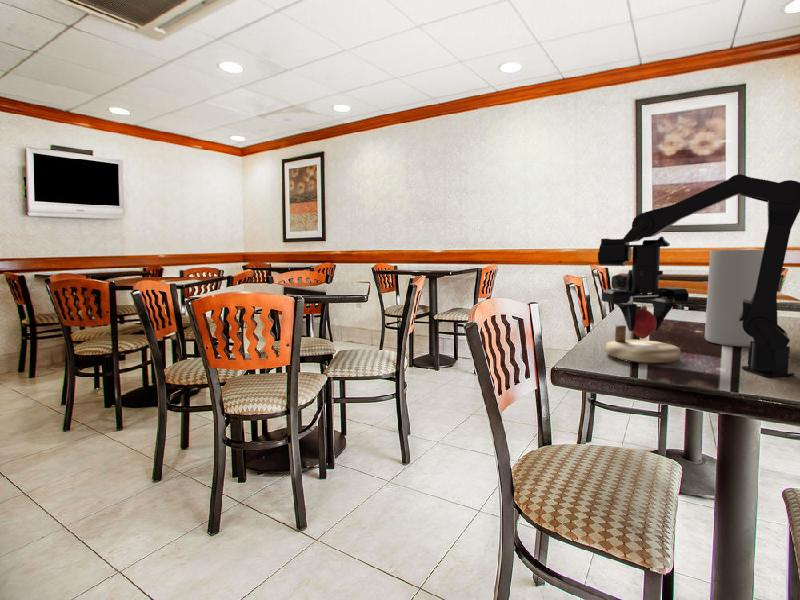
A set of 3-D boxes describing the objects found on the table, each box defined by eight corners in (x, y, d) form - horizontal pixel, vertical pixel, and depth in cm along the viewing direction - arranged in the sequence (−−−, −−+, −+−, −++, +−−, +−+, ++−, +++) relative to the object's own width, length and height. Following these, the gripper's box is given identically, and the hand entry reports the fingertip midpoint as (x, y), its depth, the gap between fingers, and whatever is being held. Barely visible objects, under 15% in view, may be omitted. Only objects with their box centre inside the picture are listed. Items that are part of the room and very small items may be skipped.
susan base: (681, 362, 106) (681, 360, 106) (632, 365, 105) (632, 362, 105) (649, 350, 118) (649, 348, 118) (604, 352, 117) (604, 350, 117)
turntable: (695, 357, 107) (697, 333, 106) (644, 365, 101) (645, 340, 101) (638, 343, 122) (639, 322, 121) (591, 350, 116) (592, 327, 115)
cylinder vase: (703, 335, 134) (708, 250, 130) (757, 339, 127) (764, 249, 124) (705, 344, 123) (711, 251, 120) (764, 349, 117) (772, 251, 113)
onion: (654, 342, 107) (655, 308, 106) (627, 339, 110) (628, 307, 109) (657, 337, 112) (659, 305, 111) (631, 335, 115) (632, 303, 114)
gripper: (661, 263, 117) (658, 323, 119) (591, 265, 116) (589, 326, 118) (691, 265, 106) (688, 331, 108) (615, 268, 105) (613, 334, 107)
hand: (643, 330), depth 111 cm, fingers closed on onion, 6 cm apart
